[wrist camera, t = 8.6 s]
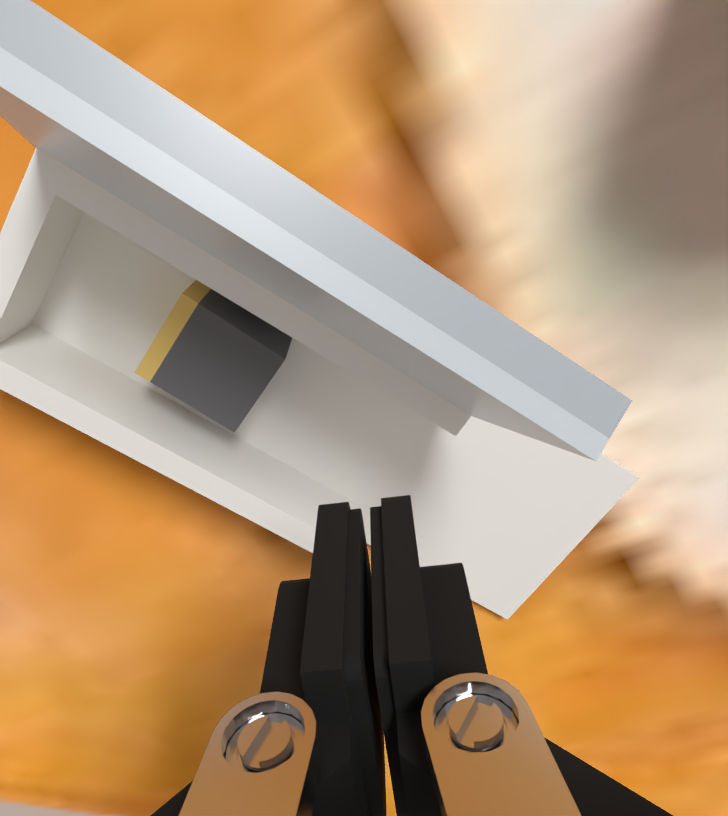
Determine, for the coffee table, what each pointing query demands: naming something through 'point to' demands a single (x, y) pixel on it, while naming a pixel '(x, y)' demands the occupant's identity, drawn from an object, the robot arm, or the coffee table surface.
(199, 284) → the yellow-capped grey cube
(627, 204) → the coffee table surface
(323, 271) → the lid
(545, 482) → the white ledged tray
